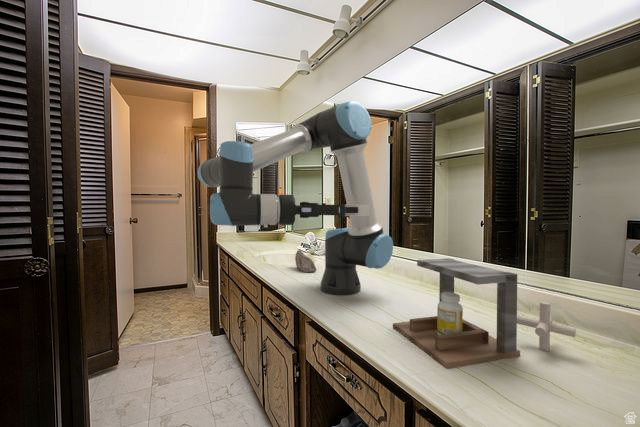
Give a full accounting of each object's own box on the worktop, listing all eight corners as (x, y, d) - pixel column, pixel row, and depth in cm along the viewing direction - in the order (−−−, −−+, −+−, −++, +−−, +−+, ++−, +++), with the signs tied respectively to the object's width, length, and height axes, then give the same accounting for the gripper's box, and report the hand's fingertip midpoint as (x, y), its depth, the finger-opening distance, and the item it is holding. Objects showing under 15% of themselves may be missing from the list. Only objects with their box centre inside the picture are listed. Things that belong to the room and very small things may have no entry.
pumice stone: (317, 272, 138) (317, 252, 138) (302, 274, 136) (303, 252, 135) (306, 267, 152) (307, 248, 152) (293, 268, 149) (293, 248, 149)
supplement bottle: (447, 342, 64) (447, 298, 64) (432, 332, 69) (432, 291, 69) (467, 339, 65) (468, 297, 65) (451, 329, 70) (452, 290, 70)
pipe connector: (511, 348, 63) (512, 302, 63) (521, 334, 70) (522, 293, 70) (572, 366, 56) (573, 314, 56) (577, 349, 63) (577, 303, 63)
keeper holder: (392, 327, 74) (393, 261, 74) (451, 320, 79) (452, 258, 79) (446, 368, 55) (447, 279, 55) (520, 355, 60) (521, 273, 60)
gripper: (272, 222, 83) (341, 222, 89) (285, 228, 59) (379, 227, 65) (272, 196, 83) (341, 197, 88) (285, 191, 59) (380, 193, 64)
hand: (358, 210), depth 77 cm, fingers open, 13 cm apart
